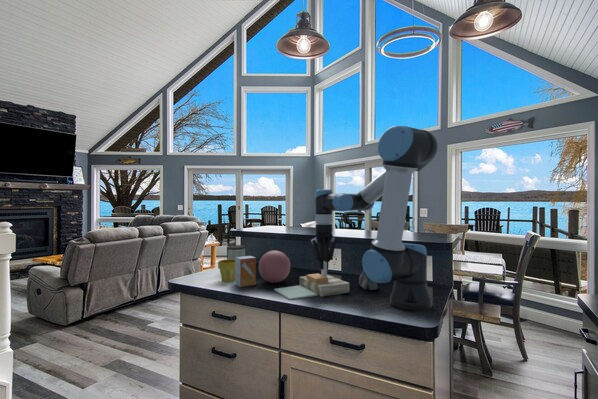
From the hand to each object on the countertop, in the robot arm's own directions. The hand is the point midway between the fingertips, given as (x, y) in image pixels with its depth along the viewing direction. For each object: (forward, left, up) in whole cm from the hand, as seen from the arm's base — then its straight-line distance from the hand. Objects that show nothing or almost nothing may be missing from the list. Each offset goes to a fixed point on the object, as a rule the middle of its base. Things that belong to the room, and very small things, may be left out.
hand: (324, 276), depth 145 cm
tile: (0, +4, -2) cm, 4 cm away
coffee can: (+54, +26, -6) cm, 60 cm away
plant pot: (+35, +35, -6) cm, 49 cm away
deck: (0, +1, -6) cm, 6 cm away
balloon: (+22, +14, -6) cm, 26 cm away
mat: (0, +15, -6) cm, 16 cm away
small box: (+23, +30, -6) cm, 38 cm away
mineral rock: (-7, -20, -6) cm, 22 cm away
